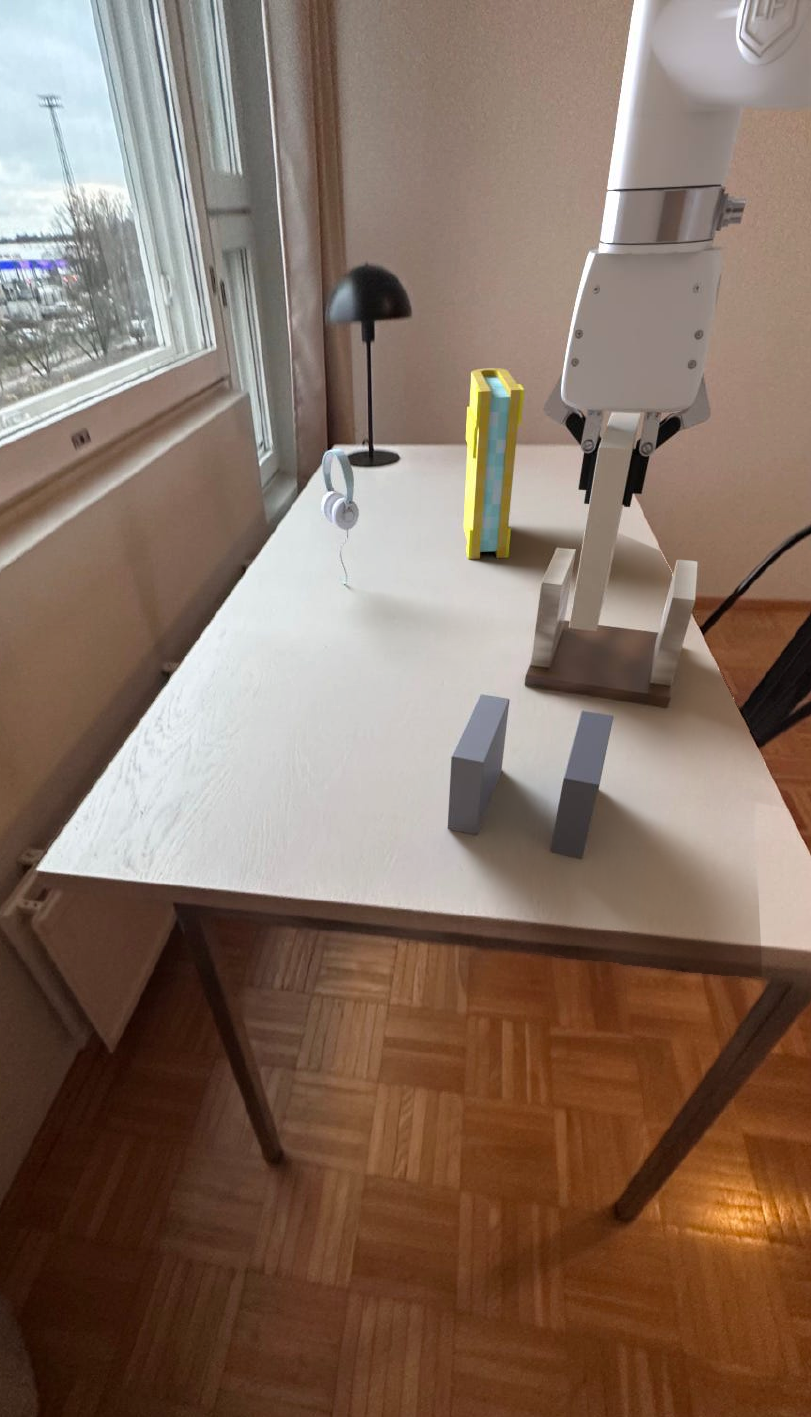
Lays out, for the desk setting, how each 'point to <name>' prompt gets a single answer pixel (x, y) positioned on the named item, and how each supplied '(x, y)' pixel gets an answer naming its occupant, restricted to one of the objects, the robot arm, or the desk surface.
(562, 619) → the letter rack
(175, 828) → the desk surface
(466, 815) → the grey books
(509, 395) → the book
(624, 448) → the thin book
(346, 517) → the headphones
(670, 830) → the desk surface
